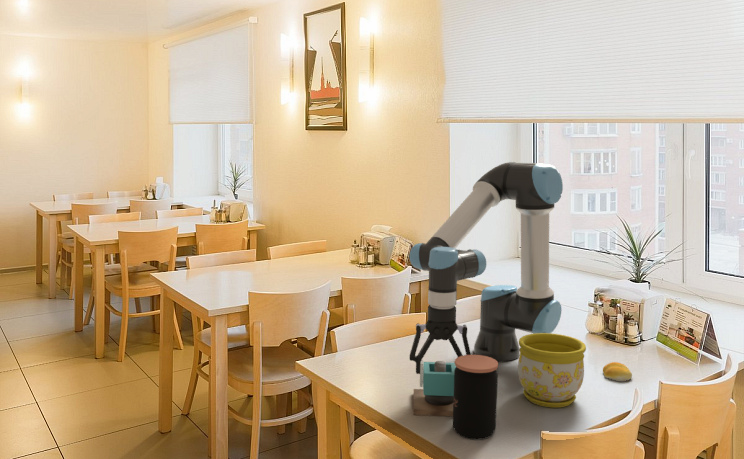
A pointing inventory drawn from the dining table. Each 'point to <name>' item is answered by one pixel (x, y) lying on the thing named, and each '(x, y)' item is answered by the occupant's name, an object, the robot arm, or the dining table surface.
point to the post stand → (433, 399)
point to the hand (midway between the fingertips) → (439, 385)
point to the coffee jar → (475, 396)
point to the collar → (438, 380)
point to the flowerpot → (551, 368)
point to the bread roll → (617, 371)
